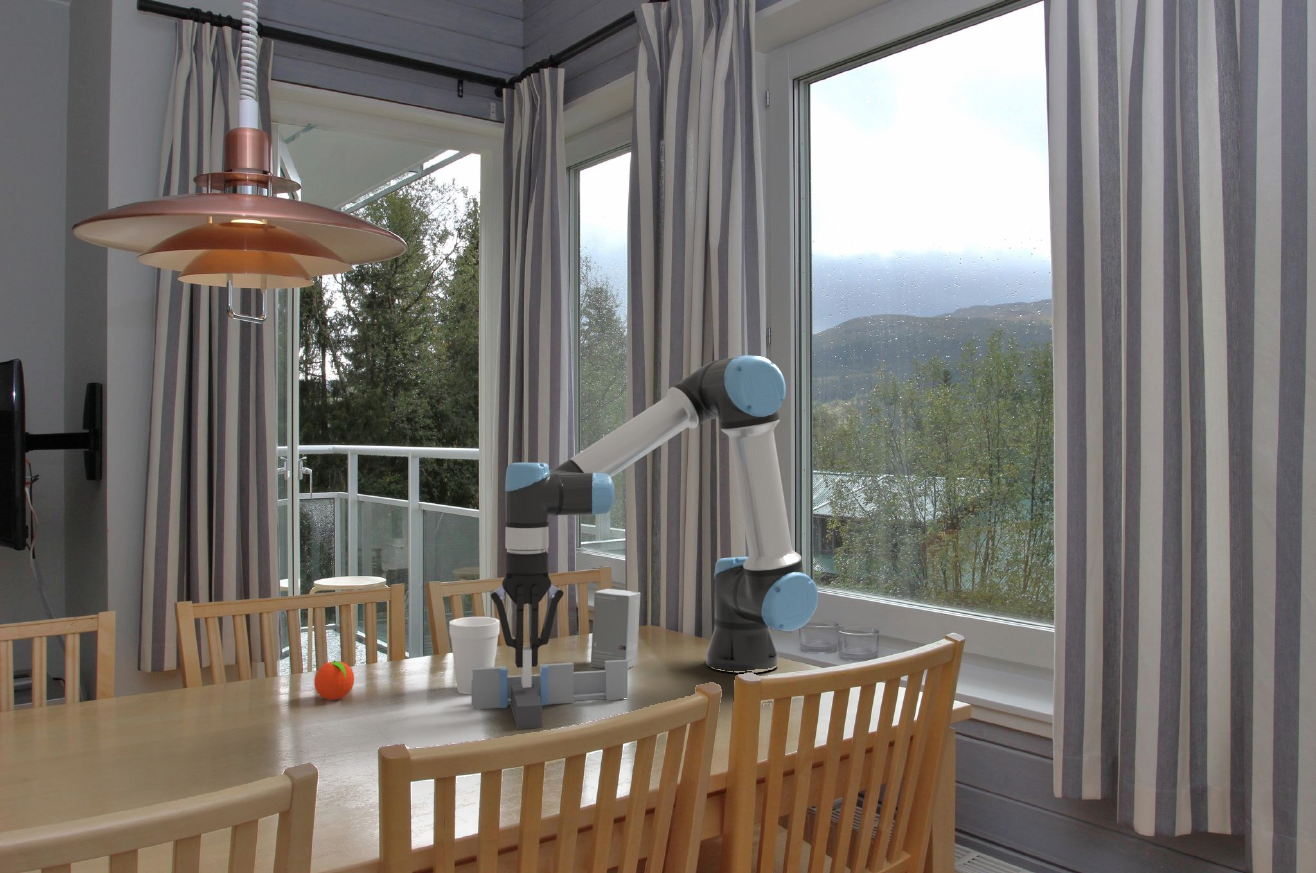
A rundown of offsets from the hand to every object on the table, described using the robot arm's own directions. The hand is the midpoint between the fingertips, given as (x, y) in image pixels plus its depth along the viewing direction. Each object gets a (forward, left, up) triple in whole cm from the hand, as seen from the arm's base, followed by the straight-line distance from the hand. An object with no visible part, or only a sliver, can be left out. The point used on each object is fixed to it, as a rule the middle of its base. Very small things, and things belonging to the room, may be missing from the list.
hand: (526, 685), depth 164 cm
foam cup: (+8, -17, -5) cm, 19 cm away
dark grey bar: (0, +2, -5) cm, 6 cm away
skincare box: (-22, -29, -5) cm, 37 cm away
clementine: (+33, -16, -5) cm, 37 cm away
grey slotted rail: (-5, -6, -5) cm, 9 cm away
